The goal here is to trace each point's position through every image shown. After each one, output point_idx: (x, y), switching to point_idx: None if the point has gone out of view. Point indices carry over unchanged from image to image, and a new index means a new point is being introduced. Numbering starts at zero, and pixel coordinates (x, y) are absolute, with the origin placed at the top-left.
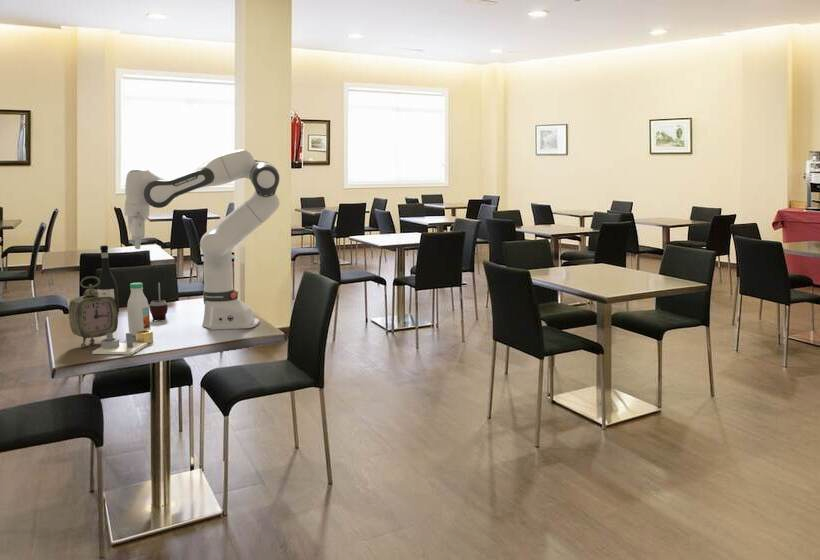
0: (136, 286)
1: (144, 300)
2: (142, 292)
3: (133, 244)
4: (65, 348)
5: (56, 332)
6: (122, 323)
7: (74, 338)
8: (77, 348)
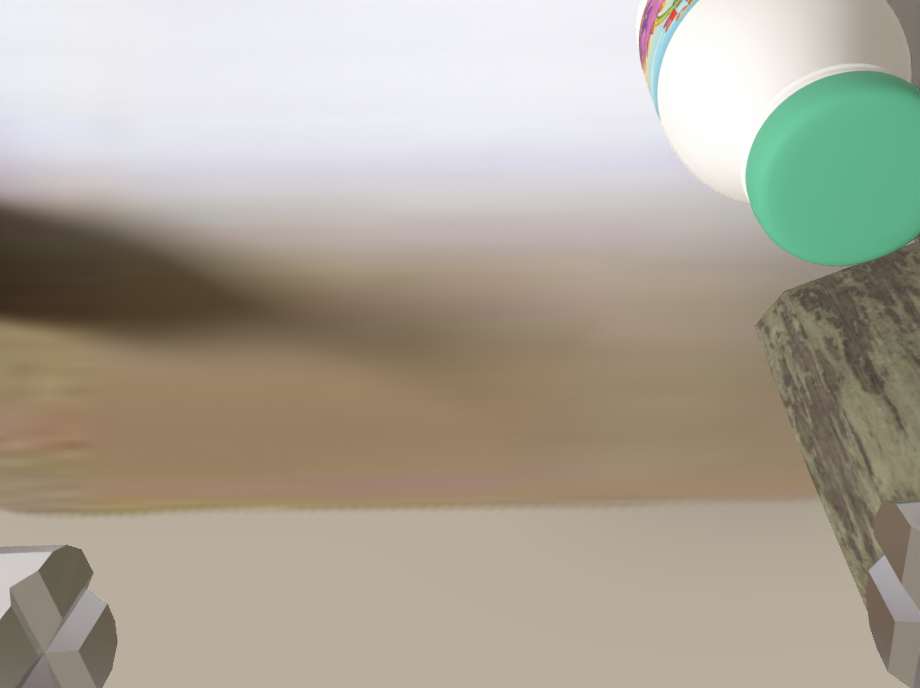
0: None
1: (890, 18)
2: (871, 62)
3: (109, 642)
4: None
5: (409, 497)
6: (253, 158)
7: (615, 422)
8: None
